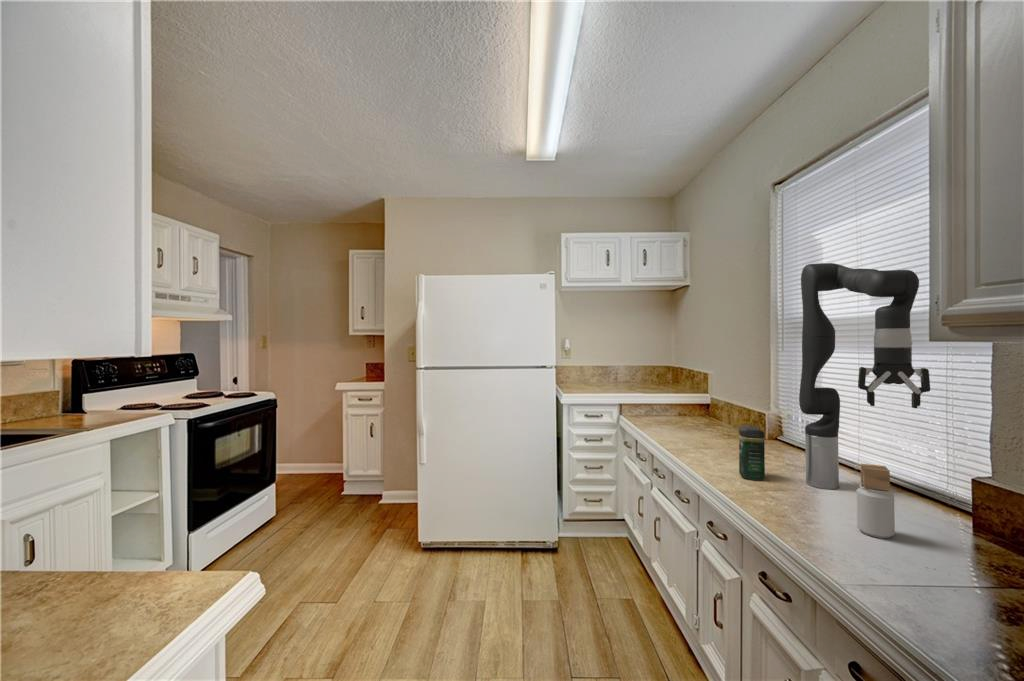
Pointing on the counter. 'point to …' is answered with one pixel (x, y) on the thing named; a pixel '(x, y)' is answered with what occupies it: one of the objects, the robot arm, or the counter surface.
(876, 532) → the can
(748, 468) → the coffee jar
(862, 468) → the block
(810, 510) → the counter surface
